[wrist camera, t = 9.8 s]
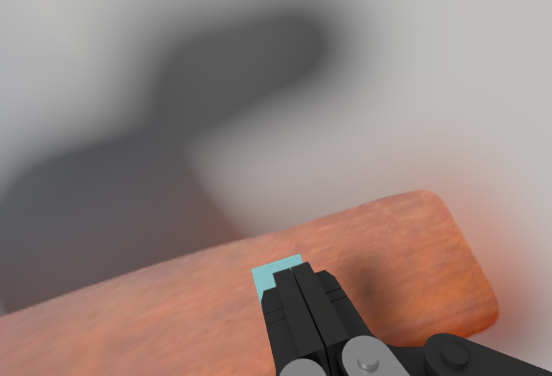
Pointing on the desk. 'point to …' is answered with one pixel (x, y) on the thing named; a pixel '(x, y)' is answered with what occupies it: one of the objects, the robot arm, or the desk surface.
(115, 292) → the desk surface
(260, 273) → the flap
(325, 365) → the robot arm
